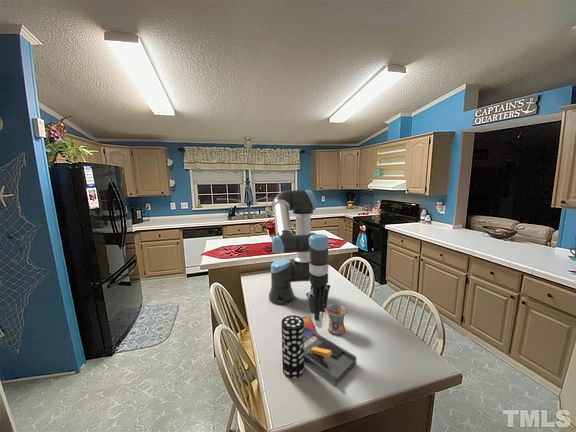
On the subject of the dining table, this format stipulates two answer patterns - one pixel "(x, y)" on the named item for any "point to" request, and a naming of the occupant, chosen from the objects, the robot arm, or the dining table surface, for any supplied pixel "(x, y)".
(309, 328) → the smartphone
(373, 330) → the dining table surface
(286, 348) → the spotted tube
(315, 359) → the dark grey tray
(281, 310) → the dining table surface
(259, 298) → the dining table surface
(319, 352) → the orange rectangular bar
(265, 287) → the dining table surface
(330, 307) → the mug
